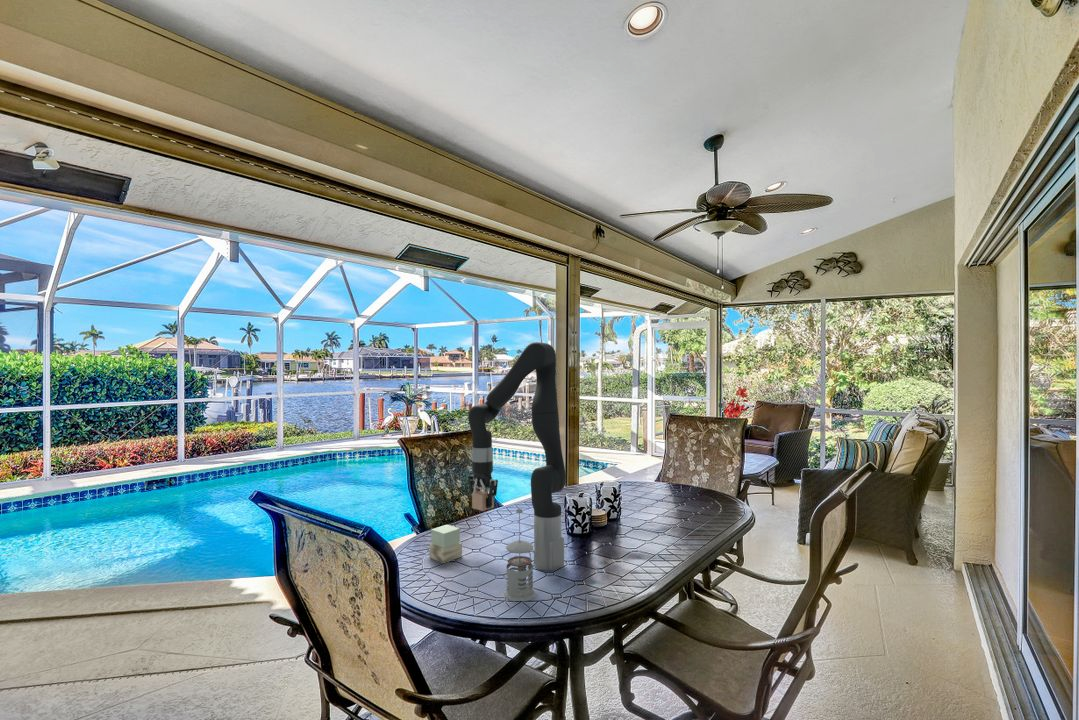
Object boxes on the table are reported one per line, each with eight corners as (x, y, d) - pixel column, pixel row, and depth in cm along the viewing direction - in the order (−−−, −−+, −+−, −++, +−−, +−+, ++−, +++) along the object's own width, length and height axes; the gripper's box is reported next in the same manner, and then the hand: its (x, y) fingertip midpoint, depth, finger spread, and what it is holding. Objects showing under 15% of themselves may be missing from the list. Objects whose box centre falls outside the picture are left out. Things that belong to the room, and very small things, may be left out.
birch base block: (462, 557, 172) (461, 542, 172) (443, 564, 166) (443, 549, 166) (447, 551, 178) (447, 537, 178) (429, 558, 172) (429, 543, 172)
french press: (496, 596, 143) (495, 510, 143) (519, 581, 152) (519, 500, 152) (523, 605, 137) (523, 515, 137) (546, 589, 147) (545, 505, 147)
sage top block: (459, 542, 173) (459, 528, 173) (444, 548, 167) (443, 533, 167) (446, 538, 177) (446, 524, 177) (431, 543, 172) (431, 529, 172)
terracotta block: (493, 507, 177) (493, 492, 177) (482, 510, 173) (482, 495, 173) (483, 504, 181) (483, 489, 181) (472, 508, 177) (472, 492, 177)
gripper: (503, 460, 176) (504, 507, 175) (477, 455, 185) (477, 500, 185) (488, 463, 170) (488, 512, 170) (461, 458, 180) (462, 505, 179)
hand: (482, 506), depth 177 cm, fingers closed on terracotta block, 5 cm apart
